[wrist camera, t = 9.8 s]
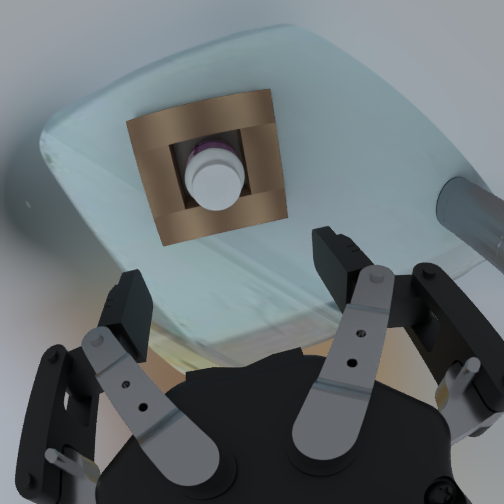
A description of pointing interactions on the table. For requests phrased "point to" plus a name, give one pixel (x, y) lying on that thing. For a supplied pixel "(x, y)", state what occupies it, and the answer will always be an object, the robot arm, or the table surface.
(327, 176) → the table surface
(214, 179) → the pill bottle
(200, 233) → the well block
